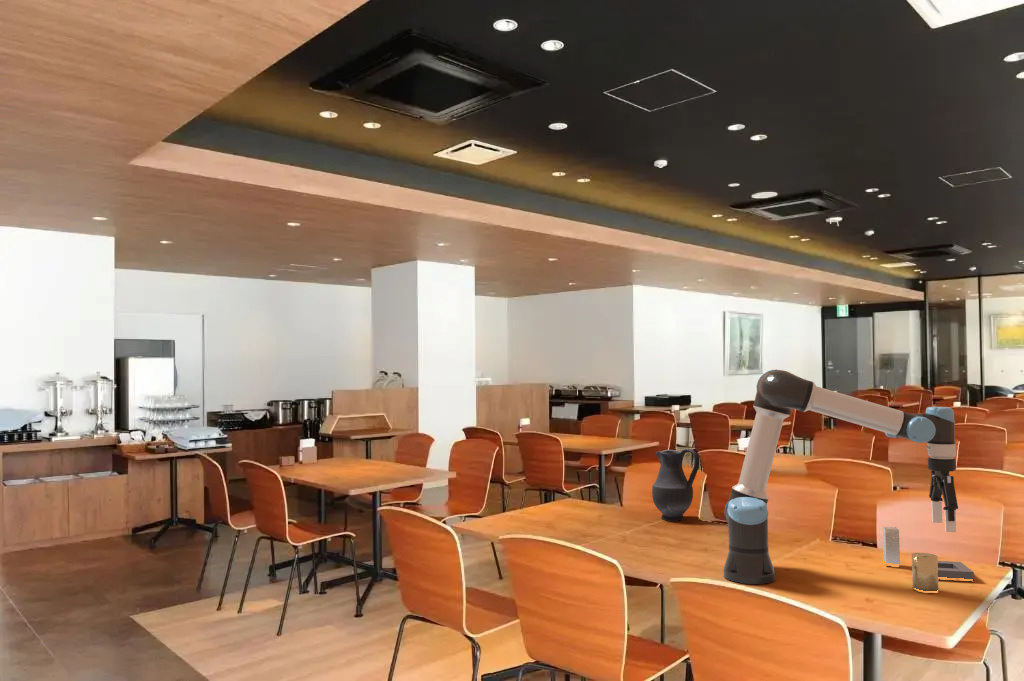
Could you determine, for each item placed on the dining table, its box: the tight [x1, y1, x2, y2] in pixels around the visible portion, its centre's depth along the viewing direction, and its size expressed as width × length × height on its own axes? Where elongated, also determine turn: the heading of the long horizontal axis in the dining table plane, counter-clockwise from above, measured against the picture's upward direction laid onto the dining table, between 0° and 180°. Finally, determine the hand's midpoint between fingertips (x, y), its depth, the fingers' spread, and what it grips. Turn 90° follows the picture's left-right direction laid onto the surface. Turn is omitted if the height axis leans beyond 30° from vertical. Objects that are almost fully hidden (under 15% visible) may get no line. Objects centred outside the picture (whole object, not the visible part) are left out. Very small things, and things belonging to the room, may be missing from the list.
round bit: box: [911, 552, 940, 591], centre depth 215 cm, size 6×6×10 cm
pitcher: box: [651, 448, 700, 522], centre depth 319 cm, size 17×21×30 cm
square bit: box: [882, 526, 901, 565], centre depth 242 cm, size 4×4×12 cm
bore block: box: [938, 560, 975, 580], centre depth 229 cm, size 12×12×3 cm
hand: (943, 527), depth 230 cm, fingers open, 13 cm apart
